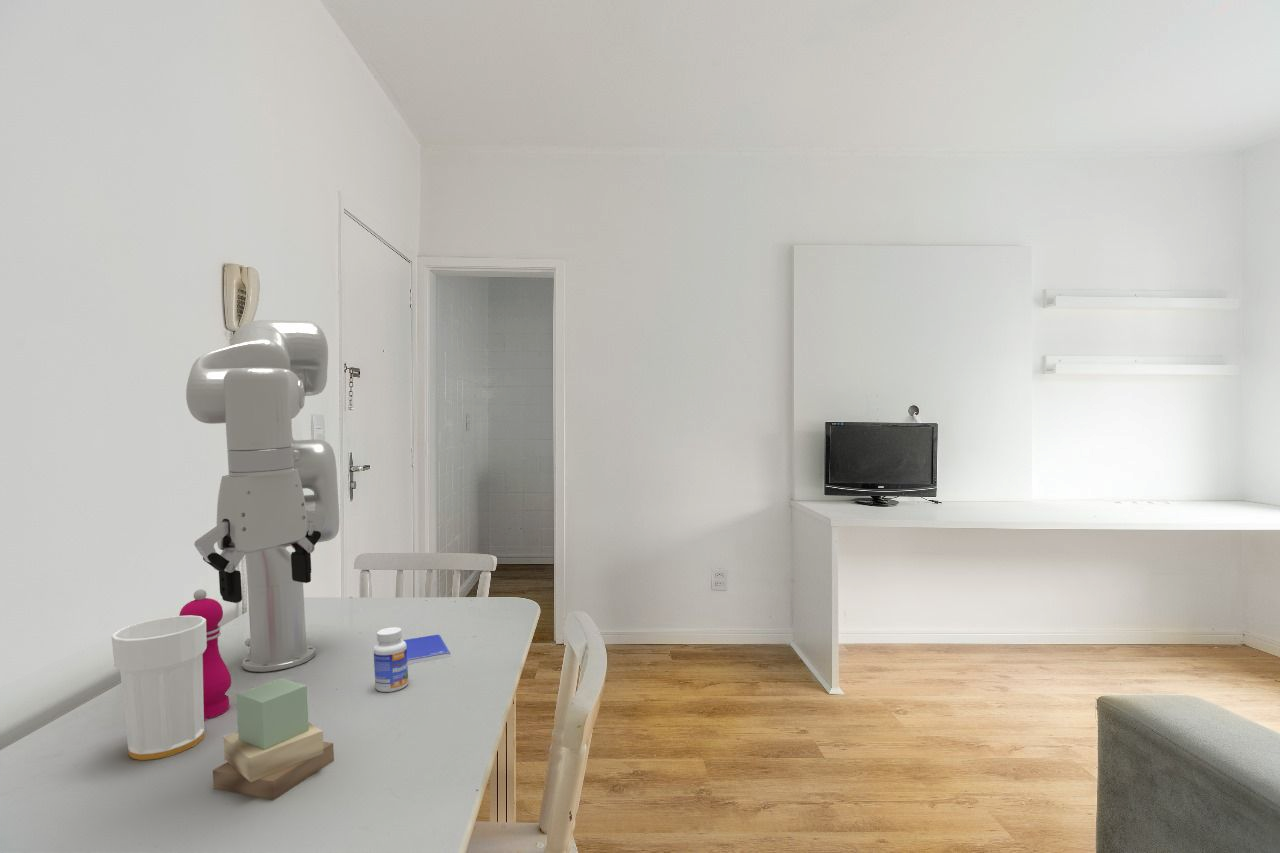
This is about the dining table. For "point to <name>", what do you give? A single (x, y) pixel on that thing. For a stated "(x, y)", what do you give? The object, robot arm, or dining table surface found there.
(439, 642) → the hard drive
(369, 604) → the dining table surface
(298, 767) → the walnut base block
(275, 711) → the sage block
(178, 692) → the cup
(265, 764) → the oak top block
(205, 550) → the robot arm
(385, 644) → the pill bottle
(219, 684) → the pepper mill
